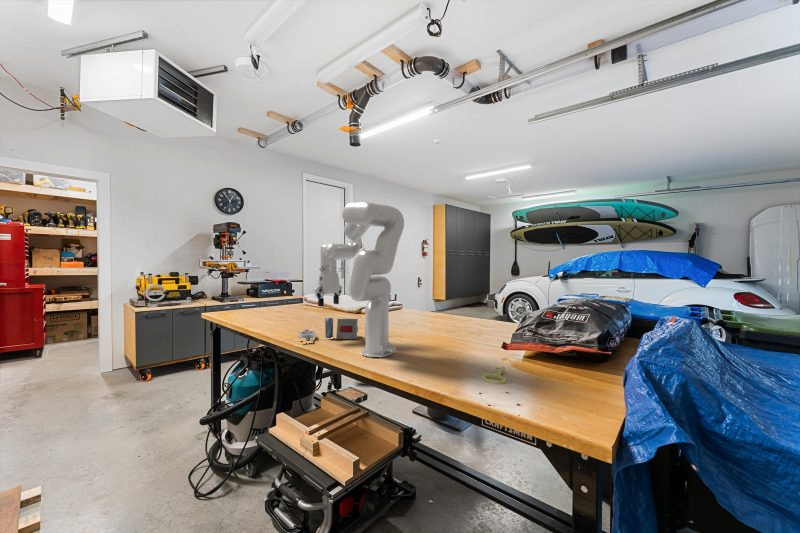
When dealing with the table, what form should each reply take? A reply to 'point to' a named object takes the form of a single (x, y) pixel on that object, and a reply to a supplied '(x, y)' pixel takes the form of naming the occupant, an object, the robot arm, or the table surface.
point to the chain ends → (307, 335)
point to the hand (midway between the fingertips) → (328, 305)
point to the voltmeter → (347, 328)
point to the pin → (328, 327)
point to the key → (495, 376)
